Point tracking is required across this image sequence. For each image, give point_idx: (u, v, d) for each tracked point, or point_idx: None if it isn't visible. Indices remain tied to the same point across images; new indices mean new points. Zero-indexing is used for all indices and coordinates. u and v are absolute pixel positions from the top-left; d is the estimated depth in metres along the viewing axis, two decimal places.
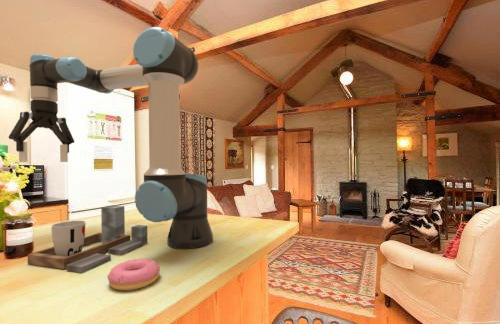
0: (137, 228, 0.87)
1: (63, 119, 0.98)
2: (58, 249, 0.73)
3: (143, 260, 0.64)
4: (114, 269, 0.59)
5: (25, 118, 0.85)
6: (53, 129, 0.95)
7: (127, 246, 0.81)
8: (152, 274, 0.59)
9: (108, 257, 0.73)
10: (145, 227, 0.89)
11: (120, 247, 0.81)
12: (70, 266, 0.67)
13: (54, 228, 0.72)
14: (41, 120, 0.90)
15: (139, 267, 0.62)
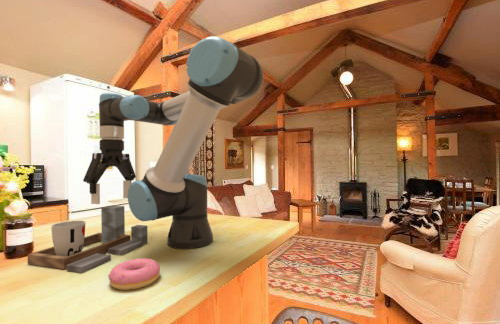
0: (137, 228, 0.87)
1: (127, 155, 0.97)
2: (58, 249, 0.73)
3: (144, 260, 0.64)
4: (115, 269, 0.59)
5: (98, 160, 0.85)
6: (118, 166, 0.94)
7: (127, 246, 0.81)
8: (153, 274, 0.59)
9: (108, 257, 0.73)
10: (145, 227, 0.89)
11: (120, 247, 0.81)
12: (70, 266, 0.67)
13: (54, 228, 0.72)
14: (111, 160, 0.89)
15: (140, 267, 0.63)
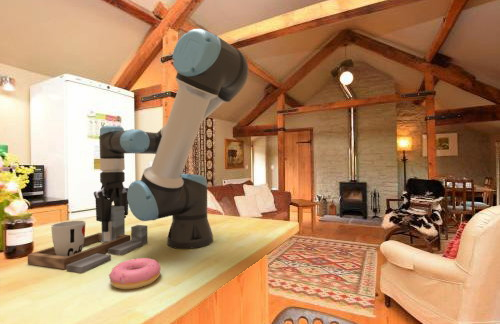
0: (137, 228, 0.87)
1: (127, 189, 0.96)
2: (58, 249, 0.73)
3: (144, 259, 0.64)
4: (115, 268, 0.59)
5: (101, 198, 0.86)
6: (115, 199, 0.93)
7: (127, 246, 0.81)
8: (153, 274, 0.59)
9: (108, 257, 0.73)
10: (145, 227, 0.89)
11: (120, 247, 0.81)
12: (70, 266, 0.67)
13: (54, 228, 0.72)
14: (112, 193, 0.89)
15: (140, 266, 0.63)
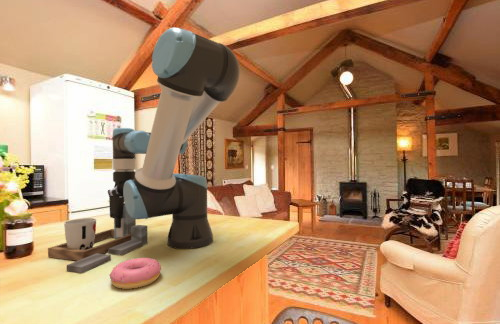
0: (137, 228, 0.87)
1: None
2: (70, 245, 0.76)
3: (144, 259, 0.64)
4: (116, 268, 0.59)
5: (115, 196, 0.91)
6: None
7: (127, 246, 0.81)
8: (153, 273, 0.59)
9: (108, 257, 0.73)
10: (145, 227, 0.89)
11: (120, 247, 0.81)
12: (70, 266, 0.67)
13: (67, 225, 0.76)
14: None
15: (140, 266, 0.63)
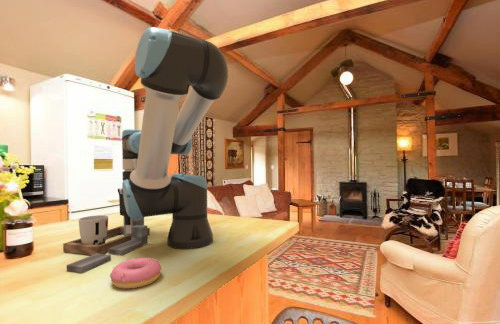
0: (137, 228, 0.87)
1: None
2: (84, 240, 0.80)
3: (145, 259, 0.64)
4: (116, 268, 0.59)
5: None
6: None
7: (127, 246, 0.81)
8: (154, 273, 0.59)
9: (108, 257, 0.73)
10: (145, 227, 0.89)
11: (120, 247, 0.81)
12: (70, 266, 0.67)
13: (81, 221, 0.80)
14: None
15: (141, 266, 0.63)
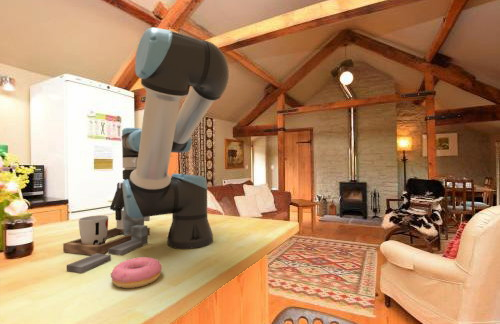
0: (137, 228, 0.87)
1: None
2: (84, 240, 0.80)
3: (145, 258, 0.65)
4: (117, 267, 0.60)
5: (122, 189, 0.94)
6: None
7: (127, 246, 0.81)
8: (154, 273, 0.60)
9: (108, 257, 0.73)
10: (145, 227, 0.89)
11: (120, 247, 0.81)
12: (70, 266, 0.67)
13: (81, 221, 0.80)
14: None
15: (141, 265, 0.63)
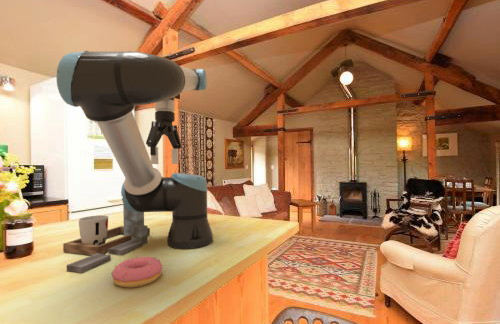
0: (137, 228, 0.87)
1: (175, 127, 1.12)
2: (84, 240, 0.80)
3: (146, 258, 0.65)
4: (118, 266, 0.60)
5: (157, 127, 1.00)
6: (169, 135, 1.10)
7: (127, 246, 0.81)
8: (155, 272, 0.60)
9: (108, 257, 0.73)
10: (145, 227, 0.89)
11: (120, 247, 0.81)
12: (70, 266, 0.67)
13: (81, 221, 0.80)
14: (165, 128, 1.04)
15: (142, 265, 0.64)
